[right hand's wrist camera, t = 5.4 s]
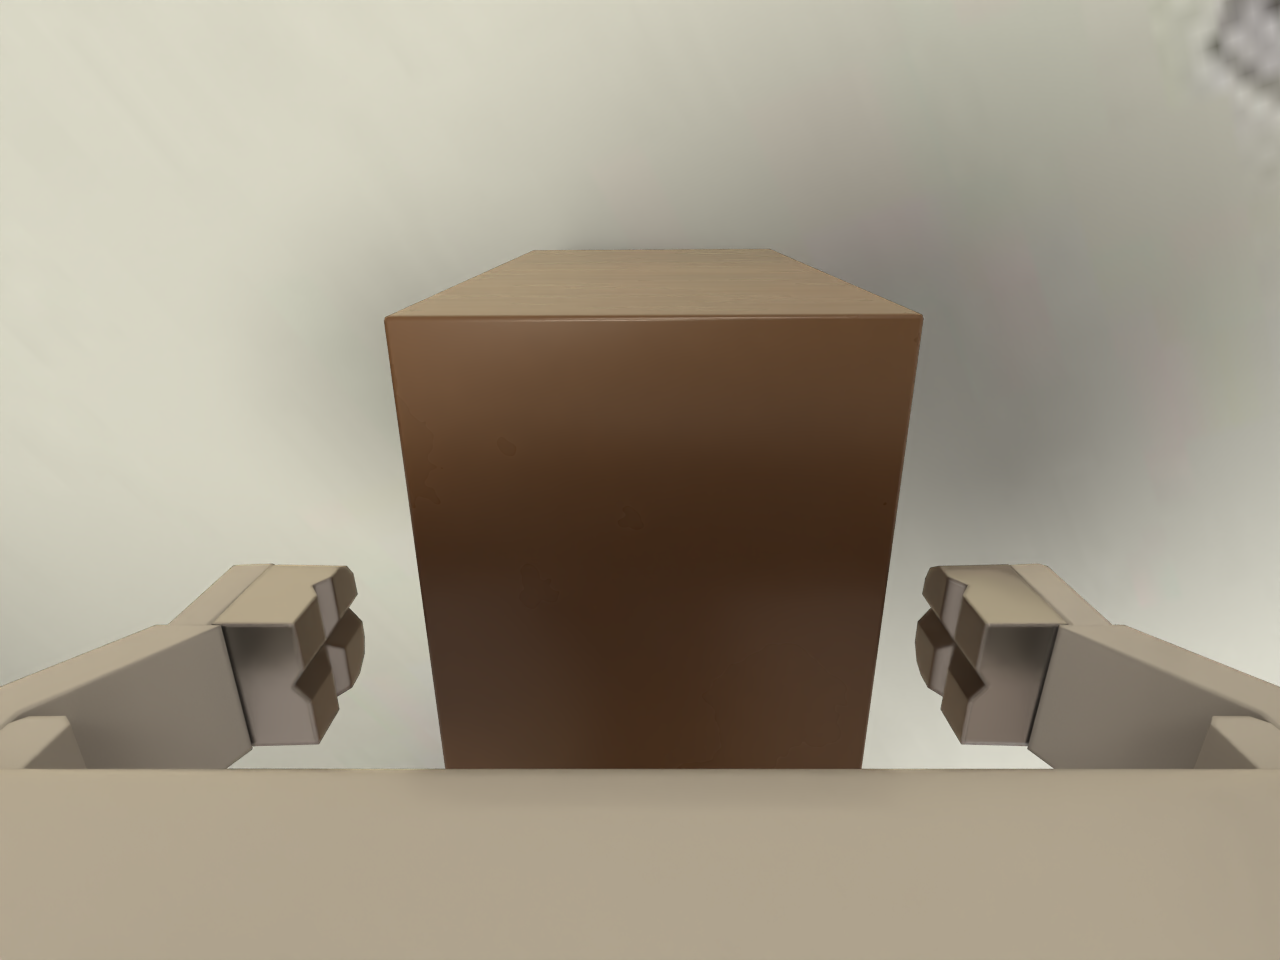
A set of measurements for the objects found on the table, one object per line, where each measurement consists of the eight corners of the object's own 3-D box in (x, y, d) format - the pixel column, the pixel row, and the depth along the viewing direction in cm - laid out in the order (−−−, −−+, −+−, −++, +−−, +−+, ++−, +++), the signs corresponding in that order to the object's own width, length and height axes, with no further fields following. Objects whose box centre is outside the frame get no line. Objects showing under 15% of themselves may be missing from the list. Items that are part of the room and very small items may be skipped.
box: (531, 250, 18) (380, 316, 8) (771, 248, 18) (925, 313, 8) (574, 974, 28) (532, 1409, 18) (729, 975, 28) (773, 1414, 18)
